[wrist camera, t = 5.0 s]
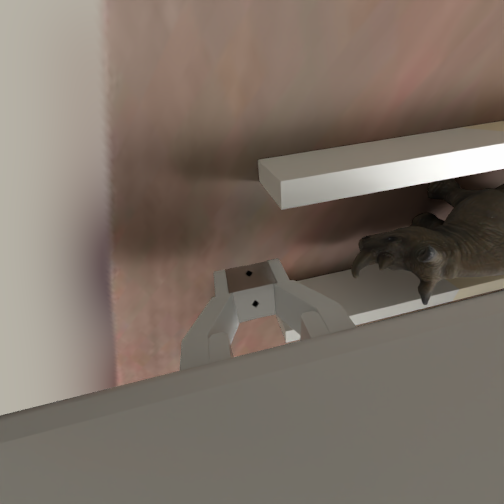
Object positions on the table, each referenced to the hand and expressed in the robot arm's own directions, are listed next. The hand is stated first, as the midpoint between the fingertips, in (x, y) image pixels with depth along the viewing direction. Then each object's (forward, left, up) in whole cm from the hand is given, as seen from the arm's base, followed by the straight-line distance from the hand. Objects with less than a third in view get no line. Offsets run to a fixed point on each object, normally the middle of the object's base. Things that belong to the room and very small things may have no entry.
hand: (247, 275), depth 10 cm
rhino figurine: (0, +12, -3) cm, 12 cm away
